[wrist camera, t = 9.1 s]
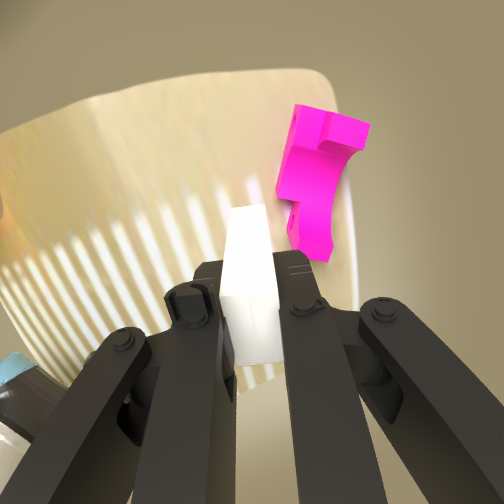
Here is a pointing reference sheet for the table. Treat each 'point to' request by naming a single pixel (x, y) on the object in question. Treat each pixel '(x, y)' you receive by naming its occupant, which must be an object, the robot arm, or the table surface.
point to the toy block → (316, 174)
